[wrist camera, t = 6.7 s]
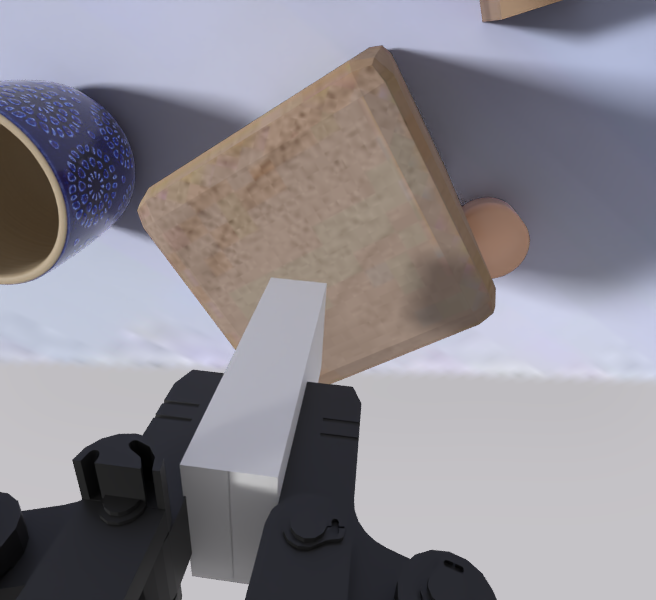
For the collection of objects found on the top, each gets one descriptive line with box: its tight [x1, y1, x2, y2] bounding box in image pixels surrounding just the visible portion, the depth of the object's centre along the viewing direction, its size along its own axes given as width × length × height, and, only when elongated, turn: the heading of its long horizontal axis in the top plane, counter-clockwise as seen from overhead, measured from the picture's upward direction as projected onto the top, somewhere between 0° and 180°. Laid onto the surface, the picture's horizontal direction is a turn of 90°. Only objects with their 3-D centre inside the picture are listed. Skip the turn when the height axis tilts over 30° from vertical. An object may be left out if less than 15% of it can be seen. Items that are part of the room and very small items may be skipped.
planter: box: [0, 80, 135, 285], centre depth 32 cm, size 11×11×11 cm
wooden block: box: [137, 46, 496, 384], centre depth 26 cm, size 10×10×20 cm
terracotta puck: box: [462, 197, 530, 278], centre depth 35 cm, size 5×5×3 cm
